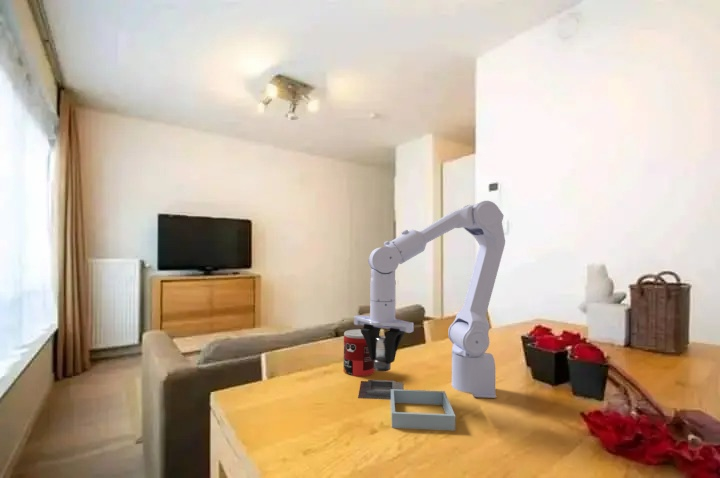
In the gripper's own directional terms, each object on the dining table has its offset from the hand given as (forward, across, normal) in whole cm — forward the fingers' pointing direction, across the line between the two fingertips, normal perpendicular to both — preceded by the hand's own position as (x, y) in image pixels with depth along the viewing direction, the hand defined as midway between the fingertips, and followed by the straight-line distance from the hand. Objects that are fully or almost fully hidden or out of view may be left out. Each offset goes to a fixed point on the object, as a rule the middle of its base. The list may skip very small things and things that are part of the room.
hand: (382, 360), depth 83 cm
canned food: (+8, -11, +7) cm, 16 cm away
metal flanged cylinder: (+2, 0, 0) cm, 2 cm away
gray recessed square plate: (+8, 0, 0) cm, 8 cm away
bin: (+8, +12, -6) cm, 16 cm away
